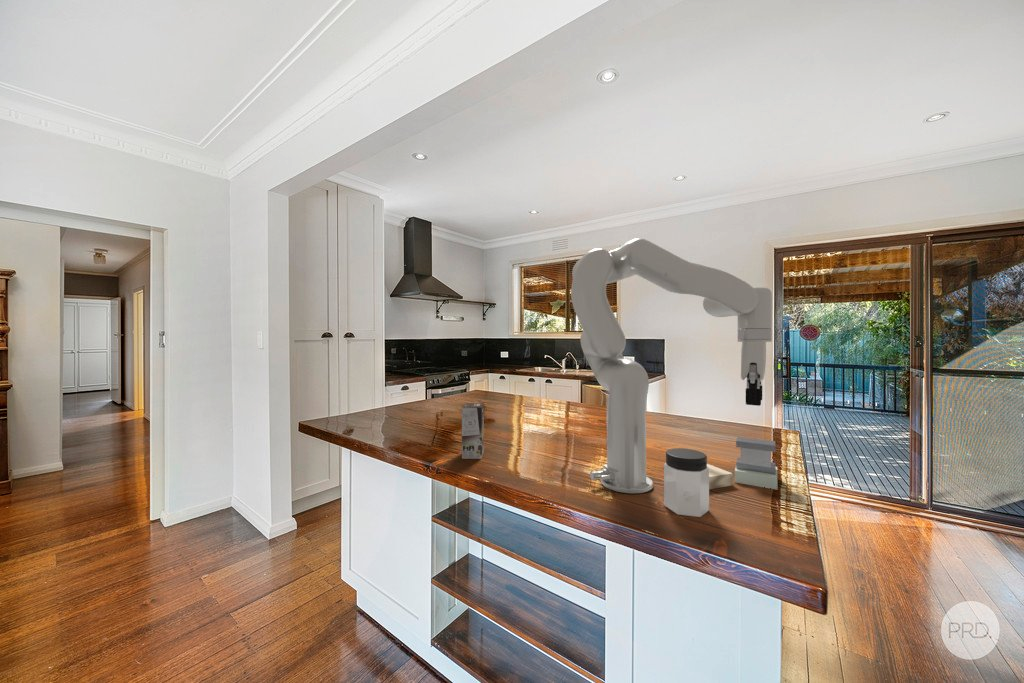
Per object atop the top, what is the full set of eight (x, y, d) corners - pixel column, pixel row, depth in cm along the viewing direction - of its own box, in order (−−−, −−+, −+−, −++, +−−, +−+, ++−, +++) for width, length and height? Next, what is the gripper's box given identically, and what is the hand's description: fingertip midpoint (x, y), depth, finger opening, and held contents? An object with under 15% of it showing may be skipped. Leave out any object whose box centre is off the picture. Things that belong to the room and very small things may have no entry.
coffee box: (482, 459, 119) (481, 407, 119) (461, 459, 119) (460, 407, 119) (484, 450, 128) (484, 402, 128) (465, 450, 128) (464, 402, 128)
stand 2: (777, 489, 93) (777, 477, 93) (734, 482, 98) (734, 470, 98) (777, 478, 100) (777, 467, 100) (737, 472, 106) (737, 461, 106)
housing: (736, 468, 100) (736, 440, 99) (737, 463, 104) (737, 436, 104) (775, 474, 95) (775, 445, 95) (775, 469, 99) (775, 441, 99)
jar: (665, 513, 81) (665, 457, 81) (662, 498, 89) (662, 446, 89) (712, 519, 78) (712, 460, 78) (705, 503, 86) (705, 449, 86)
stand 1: (704, 490, 93) (704, 477, 93) (677, 477, 102) (677, 466, 102) (732, 485, 96) (732, 473, 96) (704, 473, 105) (704, 462, 105)
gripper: (740, 336, 108) (740, 397, 109) (734, 336, 94) (734, 405, 94) (772, 336, 104) (772, 399, 104) (771, 335, 90) (771, 408, 90)
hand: (754, 402), depth 99 cm, fingers open, 9 cm apart
